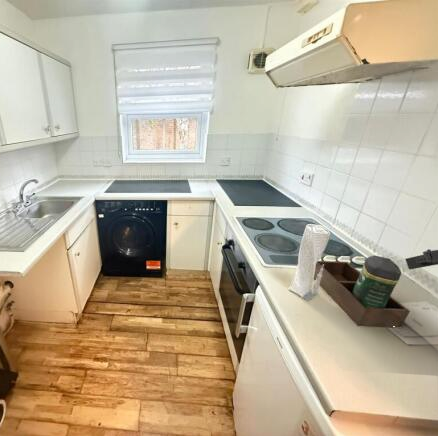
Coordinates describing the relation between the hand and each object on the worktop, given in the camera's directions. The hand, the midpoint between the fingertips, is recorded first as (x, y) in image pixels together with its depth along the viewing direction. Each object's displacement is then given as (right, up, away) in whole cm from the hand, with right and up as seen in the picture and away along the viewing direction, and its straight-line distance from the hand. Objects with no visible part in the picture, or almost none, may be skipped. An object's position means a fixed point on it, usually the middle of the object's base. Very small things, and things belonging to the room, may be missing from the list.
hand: (436, 264), depth 62 cm
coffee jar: (-3, -18, +18) cm, 26 cm away
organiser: (-2, -17, +24) cm, 29 cm away
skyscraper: (-18, -16, +27) cm, 36 cm away
